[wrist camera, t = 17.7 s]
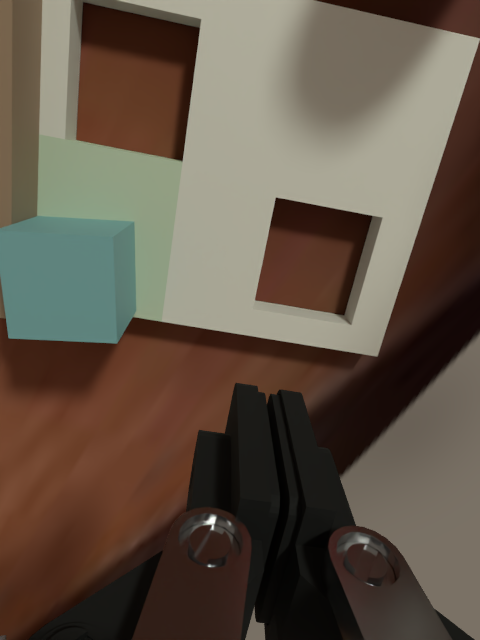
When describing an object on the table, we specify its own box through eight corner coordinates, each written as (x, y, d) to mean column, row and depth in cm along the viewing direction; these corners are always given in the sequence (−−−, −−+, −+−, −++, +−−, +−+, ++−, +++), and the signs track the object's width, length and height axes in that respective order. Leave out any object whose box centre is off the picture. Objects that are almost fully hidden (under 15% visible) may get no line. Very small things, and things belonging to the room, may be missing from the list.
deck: (462, 46, 27) (518, 21, 22) (369, 345, 34) (394, 380, 28) (39, -51, 25) (-11, -104, 19) (32, 290, 31) (-7, 316, 26)
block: (134, 221, 28) (113, 237, 23) (136, 310, 30) (117, 343, 25) (37, 215, 28) (-6, 230, 23) (46, 306, 30) (8, 338, 25)
